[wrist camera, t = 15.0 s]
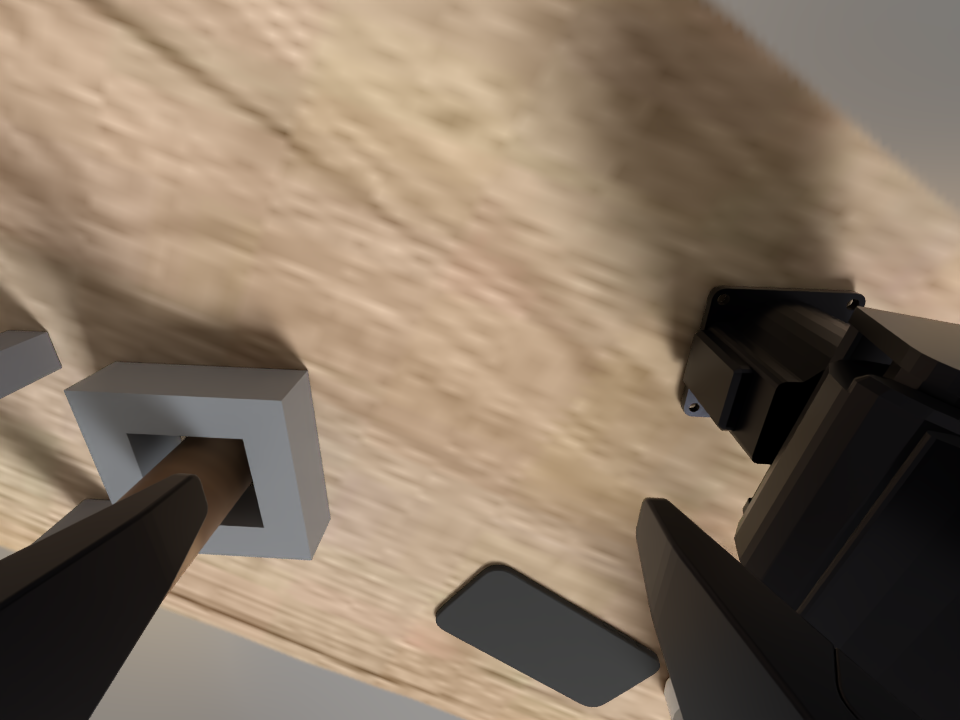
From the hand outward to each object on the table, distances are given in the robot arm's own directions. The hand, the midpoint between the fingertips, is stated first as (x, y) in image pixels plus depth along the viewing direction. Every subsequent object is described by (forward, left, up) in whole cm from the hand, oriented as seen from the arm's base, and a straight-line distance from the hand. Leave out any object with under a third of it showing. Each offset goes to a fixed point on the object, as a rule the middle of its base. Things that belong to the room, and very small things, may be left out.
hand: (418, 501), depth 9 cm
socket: (+13, +9, -13) cm, 20 cm away
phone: (-6, +24, -14) cm, 28 cm away
